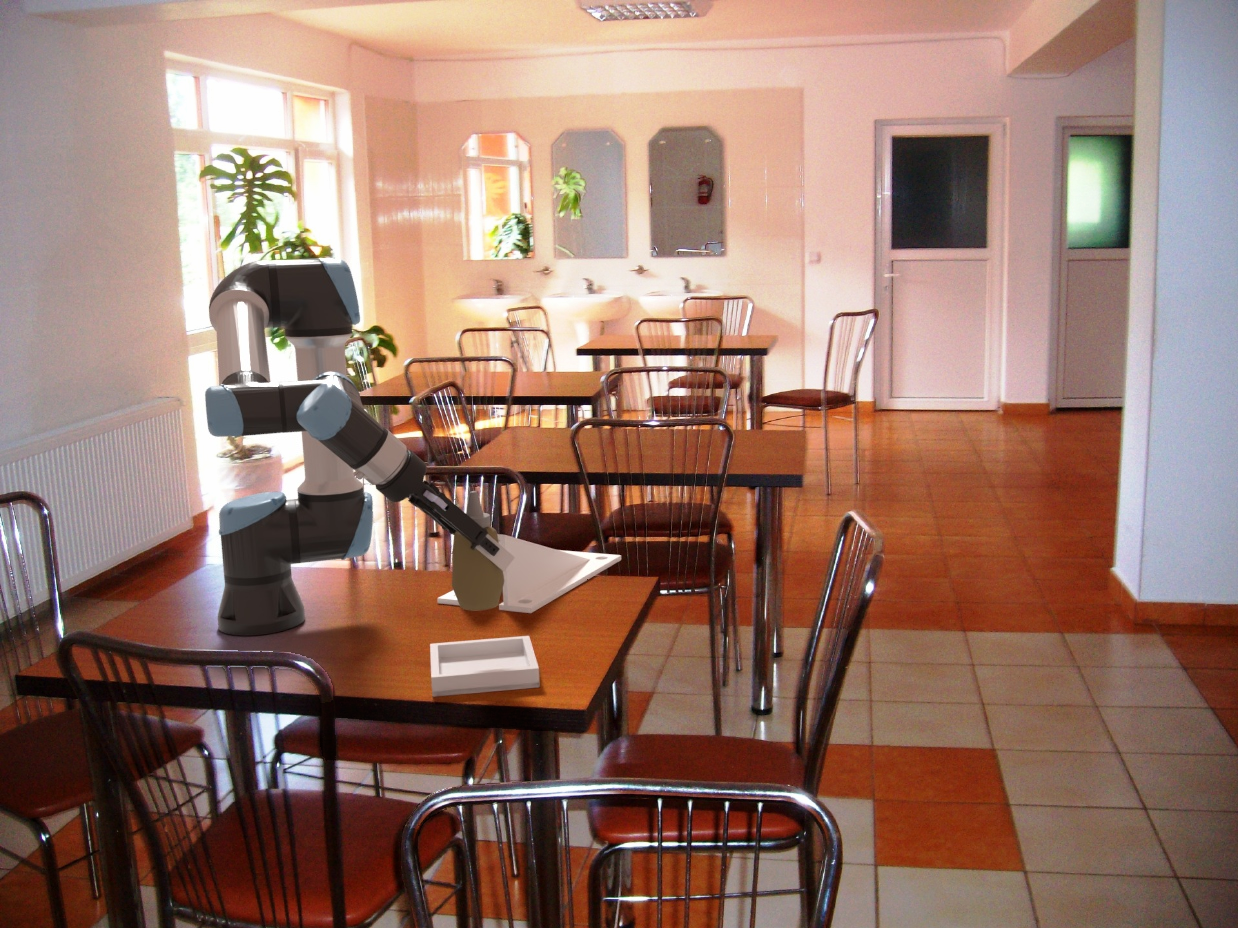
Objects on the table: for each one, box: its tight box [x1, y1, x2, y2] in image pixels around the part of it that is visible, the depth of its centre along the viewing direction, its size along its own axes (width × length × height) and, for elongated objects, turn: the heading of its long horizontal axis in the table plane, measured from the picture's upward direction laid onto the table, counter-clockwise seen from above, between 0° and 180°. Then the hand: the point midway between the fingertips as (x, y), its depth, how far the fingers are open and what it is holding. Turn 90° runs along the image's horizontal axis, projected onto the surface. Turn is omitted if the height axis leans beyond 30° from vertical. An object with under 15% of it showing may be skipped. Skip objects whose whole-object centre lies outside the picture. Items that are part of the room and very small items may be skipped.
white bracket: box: [436, 533, 622, 614], centre depth 239 cm, size 20×14×40 cm
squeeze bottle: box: [451, 490, 504, 611], centre depth 184 cm, size 8×8×18 cm
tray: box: [429, 635, 541, 698], centre depth 187 cm, size 16×16×3 cm
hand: (498, 559), depth 186 cm, fingers closed on squeeze bottle, 6 cm apart
